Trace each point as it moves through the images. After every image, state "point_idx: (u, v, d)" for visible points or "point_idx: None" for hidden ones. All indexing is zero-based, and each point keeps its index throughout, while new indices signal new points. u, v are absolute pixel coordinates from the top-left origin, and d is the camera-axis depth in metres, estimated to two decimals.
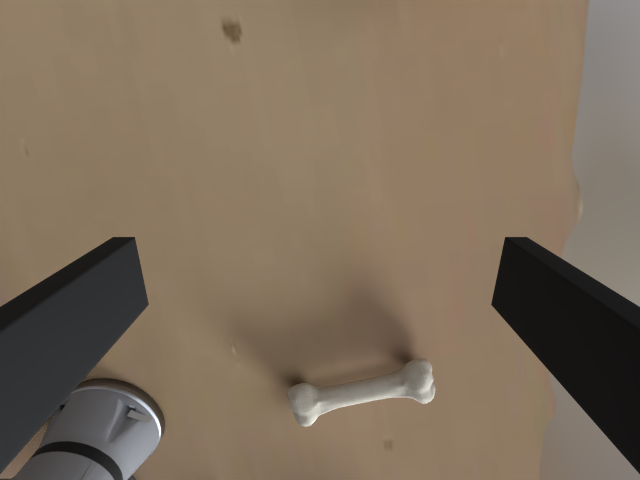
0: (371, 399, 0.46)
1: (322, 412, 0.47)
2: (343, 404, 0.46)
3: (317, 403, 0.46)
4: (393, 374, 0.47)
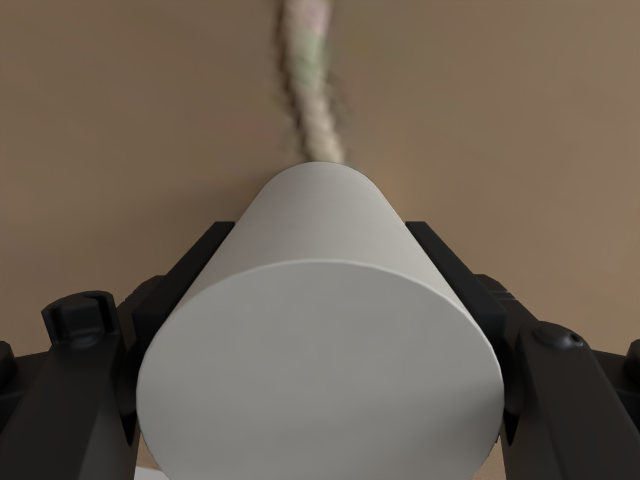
0: None
1: None
2: None
3: None
4: None
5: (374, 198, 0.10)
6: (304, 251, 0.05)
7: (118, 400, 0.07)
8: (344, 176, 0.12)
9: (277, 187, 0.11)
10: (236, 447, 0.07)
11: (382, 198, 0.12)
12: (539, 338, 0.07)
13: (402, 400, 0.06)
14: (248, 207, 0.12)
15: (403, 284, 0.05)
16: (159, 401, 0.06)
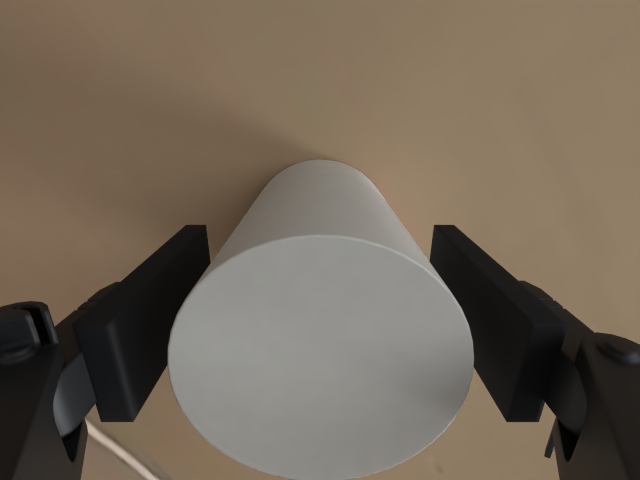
0: None
1: None
2: None
3: None
4: None
5: (368, 191, 0.12)
6: (308, 230, 0.07)
7: (55, 417, 0.07)
8: (342, 172, 0.13)
9: (282, 182, 0.13)
10: (250, 396, 0.08)
11: (376, 192, 0.13)
12: (604, 350, 0.06)
13: (388, 355, 0.07)
14: (255, 200, 0.14)
15: (388, 255, 0.07)
16: (187, 356, 0.07)
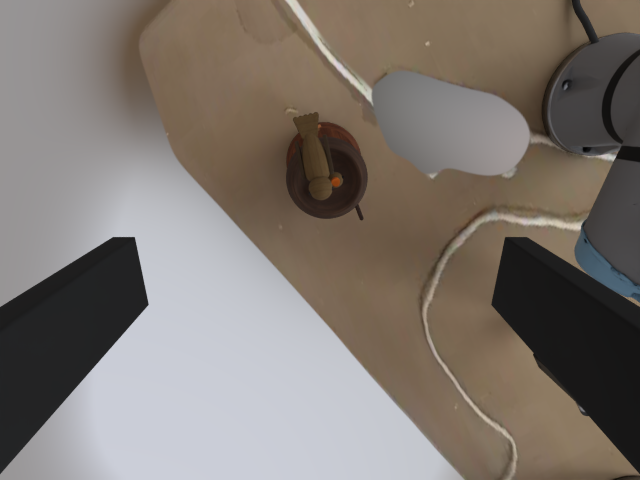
0: None
1: None
2: None
3: None
4: None
5: None
6: None
7: None
8: None
9: None
10: None
11: None
12: None
13: None
14: None
15: None
16: None
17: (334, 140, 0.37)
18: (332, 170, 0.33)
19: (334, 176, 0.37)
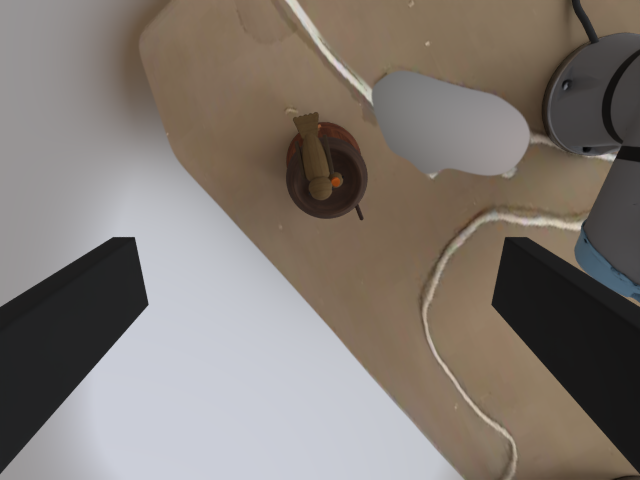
0: None
1: None
2: None
3: None
4: None
5: None
6: None
7: None
8: None
9: None
10: None
11: None
12: None
13: None
14: None
15: None
16: None
17: (334, 140, 0.37)
18: (332, 170, 0.33)
19: (334, 176, 0.37)
